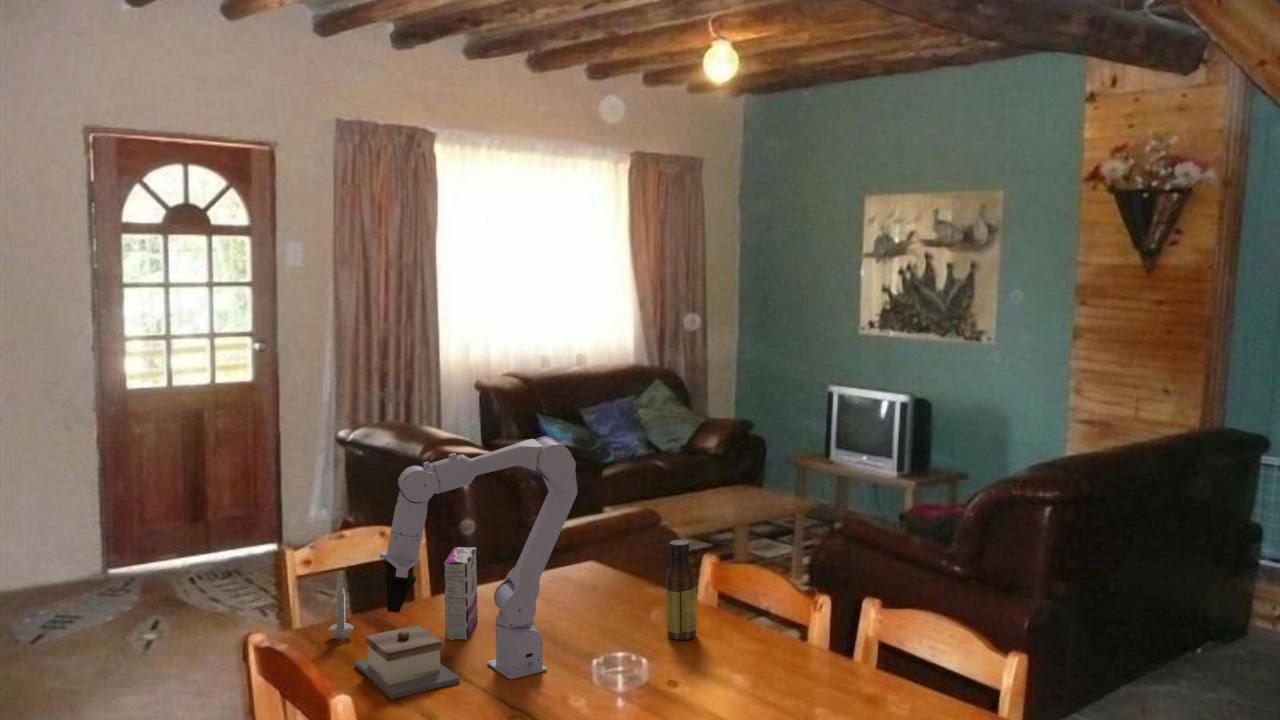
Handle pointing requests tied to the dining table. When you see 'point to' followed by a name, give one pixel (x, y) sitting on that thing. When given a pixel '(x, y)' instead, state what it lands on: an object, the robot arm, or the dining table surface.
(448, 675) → the board
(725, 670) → the dining table surface
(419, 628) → the lid
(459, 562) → the candy bar box
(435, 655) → the open grey box
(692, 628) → the sauce bottle
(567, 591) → the dining table surface
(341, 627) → the screw
